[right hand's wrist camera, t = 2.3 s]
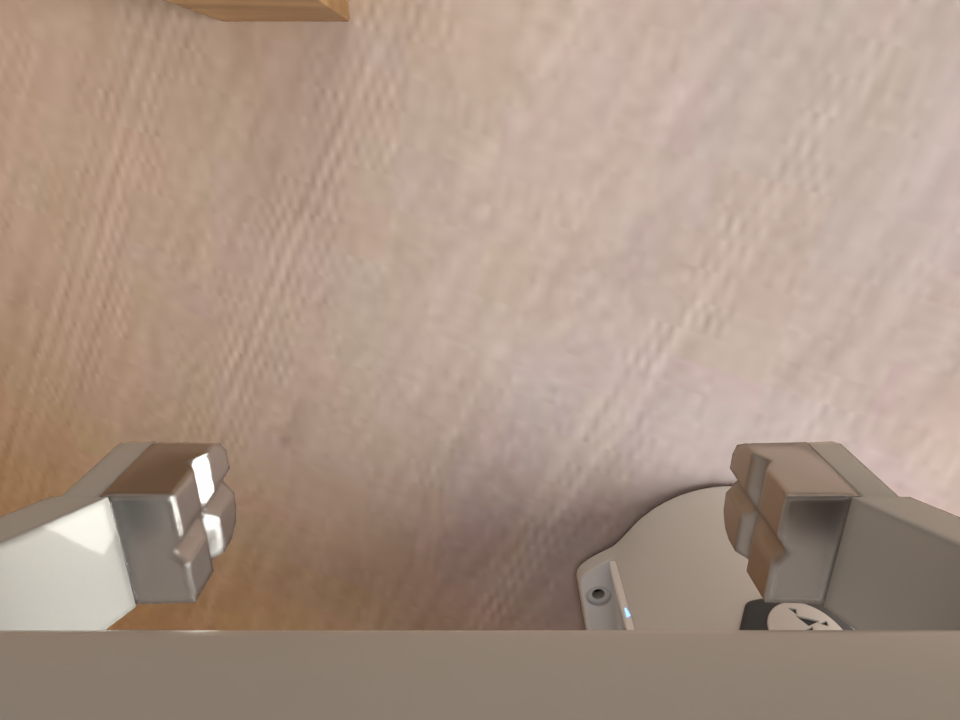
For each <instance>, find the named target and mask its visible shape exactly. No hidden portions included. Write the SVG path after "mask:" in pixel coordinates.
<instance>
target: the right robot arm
mask: <svg viewBox="0 0 960 720" xmlns="http://www.w3.org/2000/svg"><path fill="white" fill-rule="evenodd" d="M229 469H230V466H229V461H228V456H227V451H226V449H225V448H224V447H223V446H222V445H221V444H220V443H170V442H159V443H157V442H127V443H120V444H119V445H118V446H116V447H115V448H114V449H113V450H112V451H111V452H110V453H109V454H108V455H107V456H105V457H104V458H103V459H102V460H101V461H100V462H99V463H98V464H97V465H95V466H94V467H93V468H92V469H91V470H90V471H89V472H88V473H87V474H86V475H84V476H83V477H82V478H81V479H80V480H79V481H78V482H77V483H76V484H75V485H73V486H72V487H71V488H70V489H69V490H68V491H67V492H66V493H65V494H64V495H62V496H61V497H49V498H46V499H44V500H42V501H39V502H37V503H34V504H32V505H29V506H27V507H24V508H22V509H19V510H17V511H14V512H12V513H9V514H7V515H4V516H2V517H0V720H960V517H958V516H955V515H953V514H951V513H948V512H946V511H943V510H941V509H938V508H936V507H933V506H931V505H928V504H926V503H923V502H921V501H918V500H916V499H914V498H911V497H899V496H898V495H897V494H895V493H894V492H893V491H892V490H891V489H890V488H889V487H888V486H887V485H886V484H884V483H883V482H882V481H881V480H880V479H879V478H878V477H877V476H876V475H875V474H873V473H872V472H871V471H870V470H869V469H868V468H867V467H866V466H865V465H864V464H862V463H861V462H860V461H859V460H858V459H857V458H856V457H855V456H854V455H853V454H851V453H850V452H849V451H848V450H847V449H846V448H845V447H844V446H843V445H842V444H839V443H836V442H809V443H806V442H793V443H752V444H740V445H737V446H736V448H735V450H734V452H733V455H732V460H731V465H730V469H731V471H732V472H733V474H734V475H735V477H736V479H737V481H736V482H735V484H734V485H733V486H720V487H711V488H704V489H700V490H695V491H692V492H688V493H685V494H682V495H680V496H677V497H675V498H672V499H670V500H668V501H666V502H664V503H663V504H661V505H659V506H657V507H656V508H654V509H653V510H651V511H650V512H648V513H647V514H646V515H644V516H643V517H642V518H641V519H640V520H638V521H637V522H636V523H635V524H634V525H633V526H632V527H631V529H630V530H629V531H628V532H627V533H626V534H625V535H624V536H623V537H622V538H621V539H620V540H619V541H618V542H617V543H616V544H615V545H614V546H612V547H610V548H608V549H606V550H604V551H602V552H600V553H598V554H596V555H594V556H593V557H591V558H589V559H587V560H586V561H584V562H583V563H582V564H581V565H580V566H579V568H578V570H577V574H576V576H577V583H578V589H579V594H580V600H581V606H582V612H583V618H584V624H585V629H586V630H106V629H107V628H108V627H110V626H111V625H112V624H114V623H115V622H116V621H118V620H119V619H120V618H122V617H123V616H124V615H126V614H127V613H129V612H130V611H131V610H133V609H134V608H135V607H136V604H154V603H190V602H196V600H197V598H198V597H199V595H200V593H201V591H202V590H203V588H204V586H205V585H206V583H207V581H208V580H209V578H210V576H211V574H212V573H213V565H212V559H213V558H215V557H216V556H218V555H220V554H221V553H223V552H224V551H225V550H226V548H227V547H228V545H229V543H230V541H231V539H232V536H233V532H234V528H235V524H236V501H235V495H234V492H233V491H232V490H231V489H230V488H229V487H228V486H227V485H226V484H225V482H224V481H223V479H224V477H225V475H226V474H227V472H228V471H229ZM596 589H601V590H600V591H594V590H596Z"/></svg>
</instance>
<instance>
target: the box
mask: <svg viewBox="0 0 960 720" xmlns="http://www.w3.org/2000/svg"><path fill="white" fill-rule="evenodd" d="M165 1H168V2H171V3H174V4H176V5H179V6H182V7H185V8H188V9H191V10H194V11H196V12H199V13H202V14H205V15H208V16H211V17H214V18H216V19H219V20H222V21H349V4H348V0H165Z"/></svg>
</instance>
